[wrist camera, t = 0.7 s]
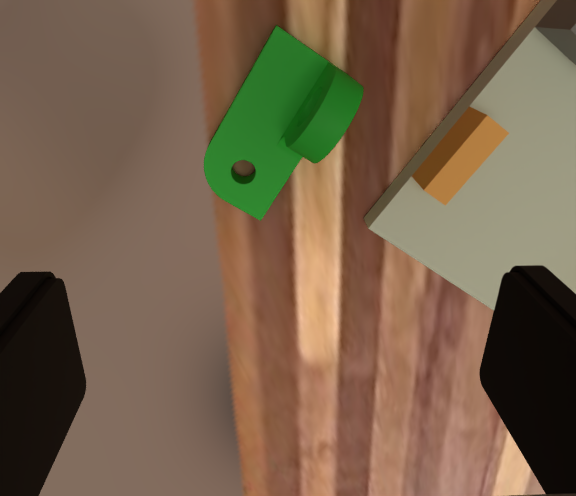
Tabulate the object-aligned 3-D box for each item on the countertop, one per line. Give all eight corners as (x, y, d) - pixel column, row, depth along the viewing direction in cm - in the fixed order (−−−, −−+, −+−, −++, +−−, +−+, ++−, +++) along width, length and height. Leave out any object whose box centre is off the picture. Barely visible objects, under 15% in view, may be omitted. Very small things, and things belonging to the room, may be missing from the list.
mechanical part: (276, 24, 32) (279, 30, 25) (348, 75, 34) (371, 93, 27) (192, 172, 36) (175, 212, 29) (260, 210, 38) (260, 257, 31)
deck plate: (553, -16, 32) (612, -21, 26) (730, 159, 38) (807, 184, 32) (363, 218, 38) (379, 252, 33) (538, 333, 45) (576, 378, 39)
